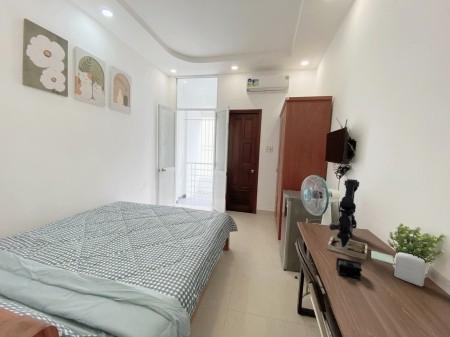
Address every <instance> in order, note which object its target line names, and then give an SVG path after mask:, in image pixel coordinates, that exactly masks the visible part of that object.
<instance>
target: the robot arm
mask: <svg viewBox="0 0 450 337" xmlns="http://www.w3.org/2000/svg"><path fill="white" fill-rule="evenodd" d="M344 186H345V194H344V196H343V197H342V198H341V201H339V206H338V212H339V213H340V216H339V217H338V222H333V223H330V224H329V226H328V227H329V229H330V231H336V230H337V231H338V232H337V234H336V237H337V238H340V239H341V243H342V247H345V245H346V244H347V242H348V241H349V240H351V238H353V237H354V233H353V229H354V230H355V229H357V226H358V222H357V220H356V216H355V213H356V208H357V205H356V203H355V193H356V191H357V190H358V188H359V187H360V181H358V179H351V178H347V180H345V179H344Z"/></svg>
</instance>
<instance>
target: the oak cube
mask: <svg viewBox="0 0 450 337" xmlns="http://www.w3.org/2000/svg"><path fill="white" fill-rule="evenodd" d="M358 242H359V241H357V242H353V245H352V251H354V252H358V253H362V252H363V248H362V244H361V243H362V242H361V243H358Z"/></svg>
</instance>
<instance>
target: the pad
mask: <svg viewBox="0 0 450 337" xmlns="http://www.w3.org/2000/svg"><path fill="white" fill-rule="evenodd" d="M370 254H371V256H370V257H371V259H372V260H375V261H379V262H382V263H386V264H390V265H393V264H392V263H393V260H394V261H395V259H394V255H390V254H387V253H384V252H383V253H382V252H380V251H374V250H371V253H370Z"/></svg>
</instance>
